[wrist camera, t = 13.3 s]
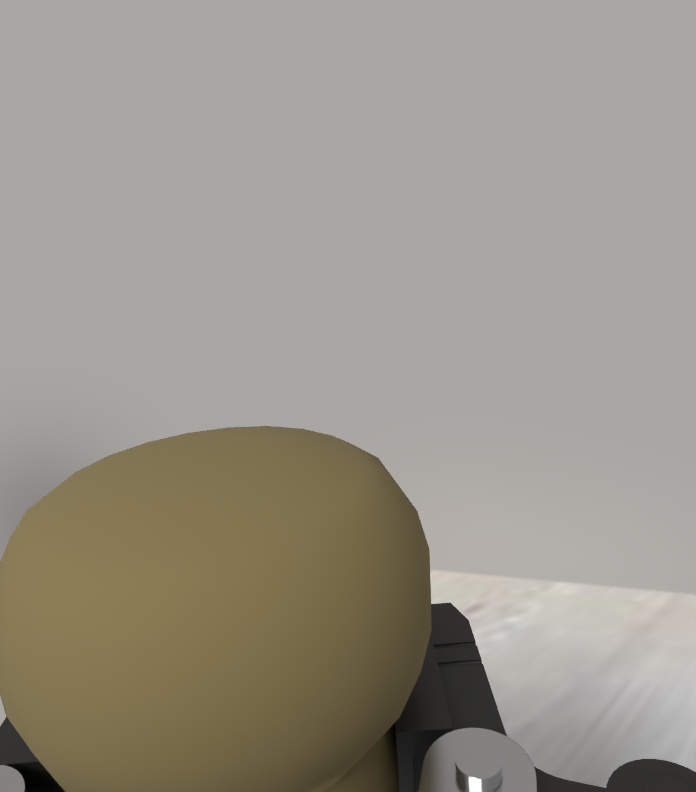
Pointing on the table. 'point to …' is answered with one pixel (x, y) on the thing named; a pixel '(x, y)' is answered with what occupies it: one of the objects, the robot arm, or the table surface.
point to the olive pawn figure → (217, 617)
